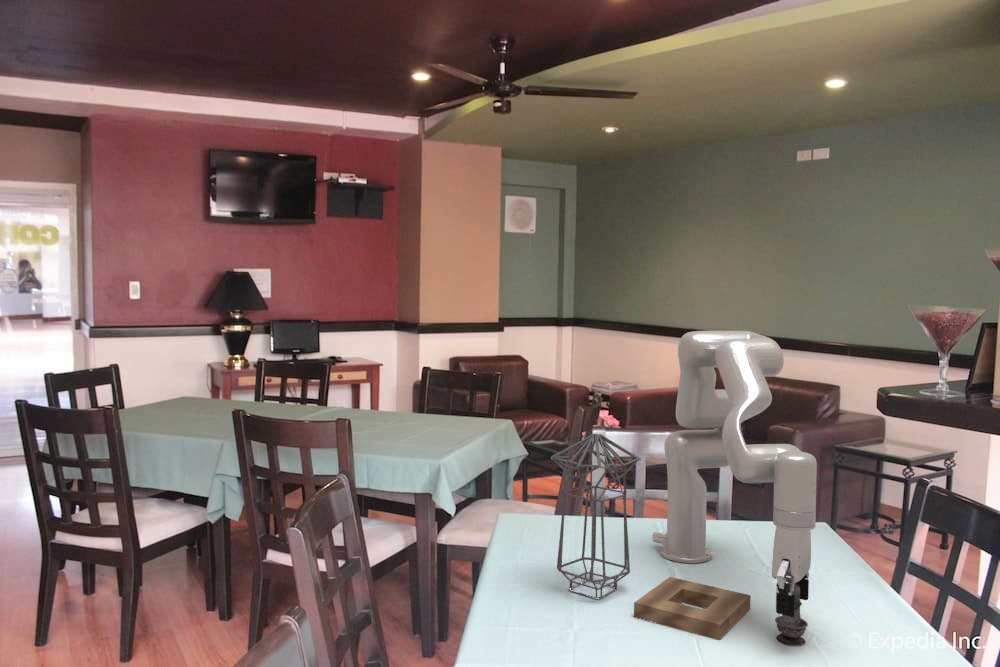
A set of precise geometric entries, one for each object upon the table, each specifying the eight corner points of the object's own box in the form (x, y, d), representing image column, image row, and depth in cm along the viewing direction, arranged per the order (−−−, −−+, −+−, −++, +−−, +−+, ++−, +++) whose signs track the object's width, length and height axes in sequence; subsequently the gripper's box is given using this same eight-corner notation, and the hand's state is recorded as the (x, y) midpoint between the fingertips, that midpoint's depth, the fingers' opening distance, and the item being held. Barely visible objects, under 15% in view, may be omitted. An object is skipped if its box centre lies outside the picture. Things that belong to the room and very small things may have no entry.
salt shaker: (769, 633, 155) (770, 573, 154) (798, 633, 155) (800, 572, 154) (782, 647, 149) (784, 584, 148) (812, 646, 149) (814, 583, 149)
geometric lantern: (544, 590, 176) (546, 433, 175) (586, 573, 188) (588, 426, 187) (602, 609, 166) (604, 442, 165) (643, 590, 177) (646, 434, 176)
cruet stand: (633, 617, 162) (634, 602, 162) (669, 590, 177) (669, 576, 177) (719, 639, 152) (720, 624, 152) (750, 609, 166) (750, 595, 166)
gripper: (786, 504, 160) (785, 588, 161) (760, 524, 146) (758, 616, 146) (826, 510, 155) (824, 596, 156) (802, 531, 141) (800, 626, 142)
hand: (792, 606), depth 151 cm, fingers open, 9 cm apart
